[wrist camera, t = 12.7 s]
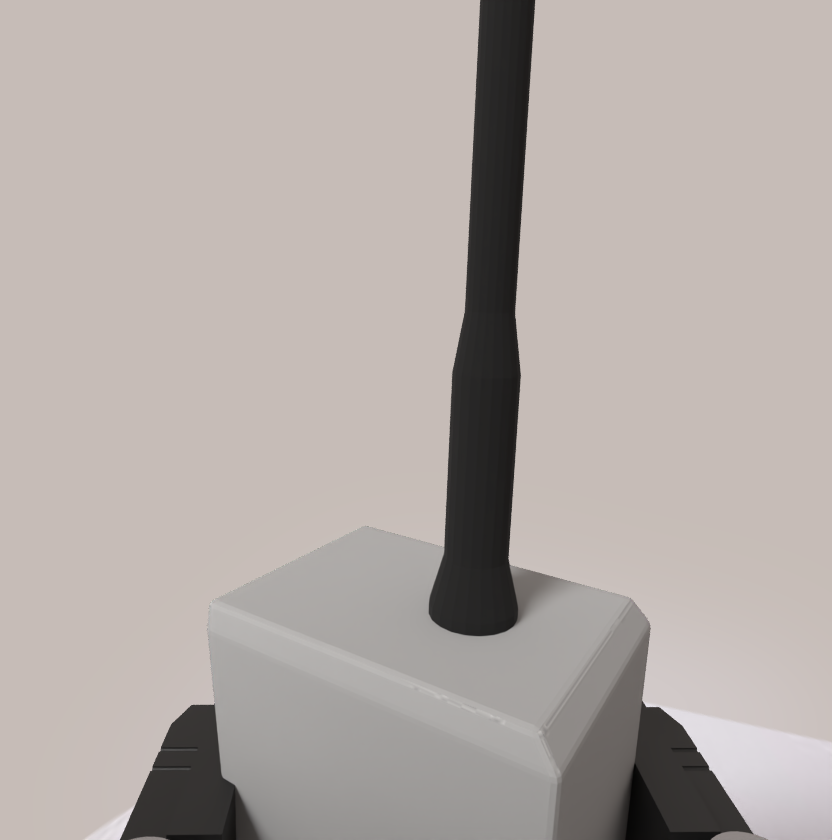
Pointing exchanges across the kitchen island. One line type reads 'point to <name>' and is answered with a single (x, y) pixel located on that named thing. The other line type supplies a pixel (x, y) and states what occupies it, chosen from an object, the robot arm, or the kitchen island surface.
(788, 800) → the kitchen island surface
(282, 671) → the vintage mobile phone
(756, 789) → the kitchen island surface
